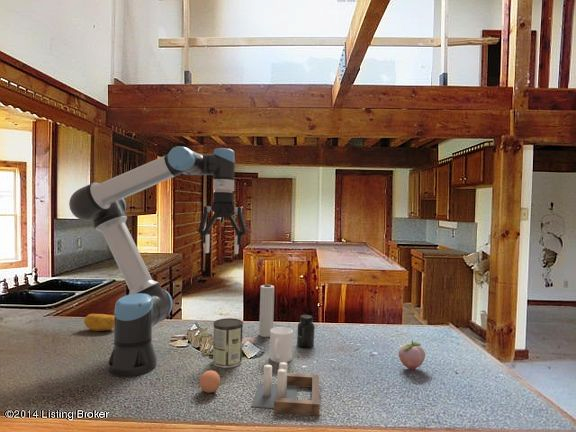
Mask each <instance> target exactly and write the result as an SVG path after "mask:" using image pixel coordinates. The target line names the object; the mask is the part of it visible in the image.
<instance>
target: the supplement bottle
mask: <svg viewBox="0 0 576 432" xmlns="http://www.w3.org/2000/svg"><path fill="white" fill-rule="evenodd" d="M313 321H314V320H313V315H310V314H301V315H300V319H299V322H298V324H297V332H296V333H297V334H296V335H297V336H296V346H297V347H298V348H299V349H303V350H308V349H313V348H314V346H315V331H316V330H315V328H316V326H315V324H314V323H313Z"/></svg>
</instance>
